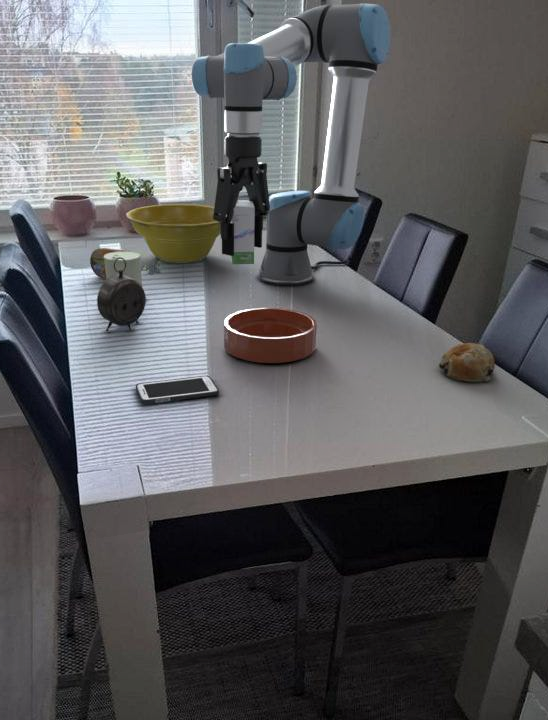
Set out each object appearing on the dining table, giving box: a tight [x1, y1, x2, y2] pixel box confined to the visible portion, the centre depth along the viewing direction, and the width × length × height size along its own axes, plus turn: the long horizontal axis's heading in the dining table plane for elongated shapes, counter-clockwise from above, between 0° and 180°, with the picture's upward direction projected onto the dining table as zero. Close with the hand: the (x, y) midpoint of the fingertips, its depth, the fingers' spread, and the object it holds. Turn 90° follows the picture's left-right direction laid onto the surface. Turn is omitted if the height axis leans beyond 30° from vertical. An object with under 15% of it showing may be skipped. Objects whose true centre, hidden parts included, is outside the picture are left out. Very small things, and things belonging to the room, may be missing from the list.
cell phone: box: [135, 375, 220, 405], centre depth 125 cm, size 8×15×1 cm, turn 107°
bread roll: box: [438, 342, 496, 383], centre depth 132 cm, size 10×10×8 cm
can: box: [104, 250, 143, 287], centre depth 169 cm, size 9×9×12 cm
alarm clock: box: [96, 257, 147, 333], centre depth 150 cm, size 11×5×16 cm, turn 135°
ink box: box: [230, 199, 255, 265], centre depth 143 cm, size 8×5×12 cm, turn 3°
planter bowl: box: [125, 203, 227, 264], centre depth 206 cm, size 32×32×13 cm
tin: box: [89, 247, 133, 280], centre depth 187 cm, size 15×3×8 cm, turn 68°
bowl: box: [223, 307, 318, 364], centre depth 143 cm, size 20×20×6 cm
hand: (242, 250), depth 145 cm, fingers closed on ink box, 9 cm apart
